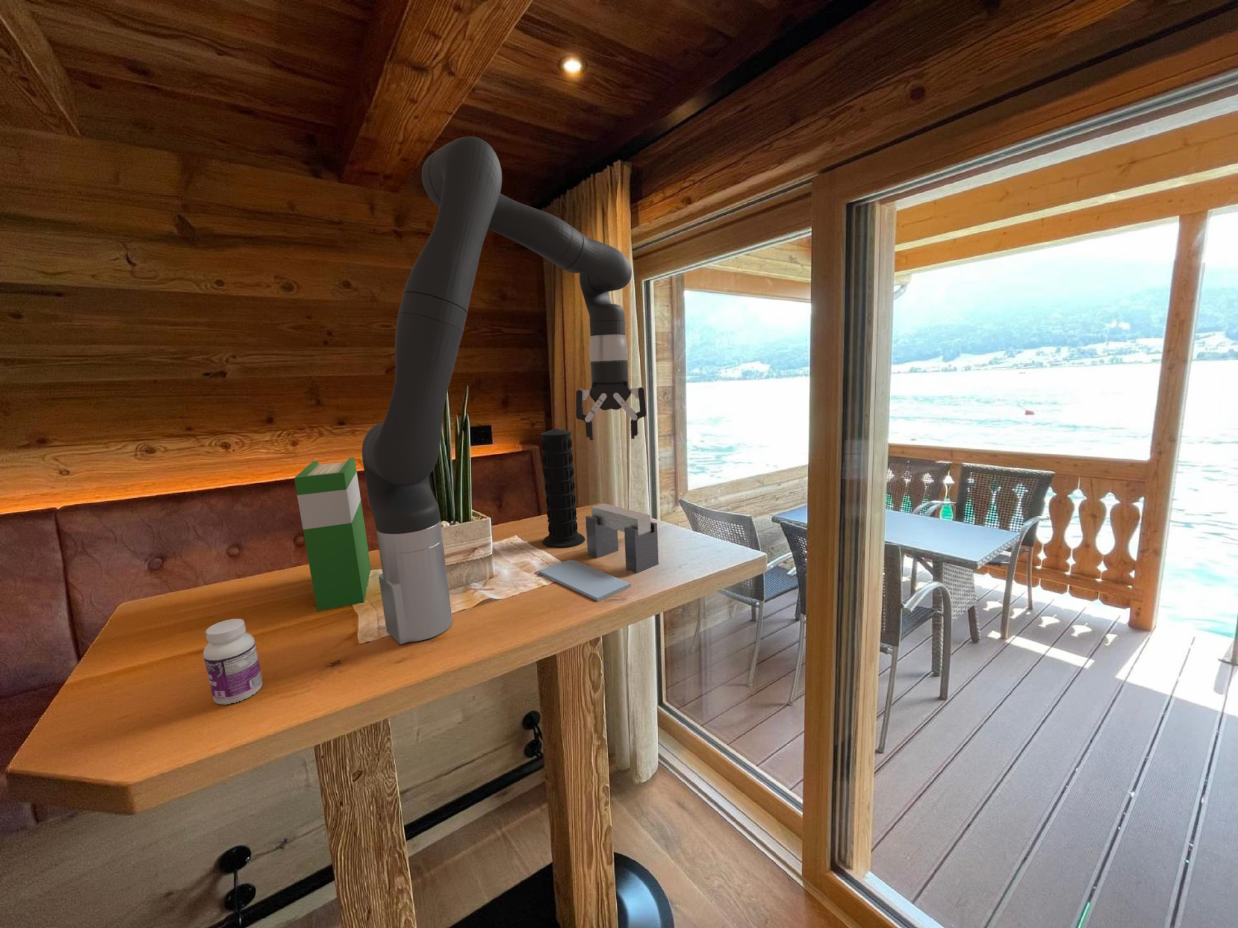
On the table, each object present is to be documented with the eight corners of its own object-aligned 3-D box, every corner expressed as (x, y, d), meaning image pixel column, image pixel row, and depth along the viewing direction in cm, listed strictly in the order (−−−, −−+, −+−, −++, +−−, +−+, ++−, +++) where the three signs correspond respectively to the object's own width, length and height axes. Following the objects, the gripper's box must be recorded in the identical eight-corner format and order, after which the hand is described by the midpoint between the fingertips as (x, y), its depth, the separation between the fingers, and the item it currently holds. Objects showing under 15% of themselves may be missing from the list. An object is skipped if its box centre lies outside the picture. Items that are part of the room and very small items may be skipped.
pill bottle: (206, 697, 67) (191, 629, 65) (252, 676, 71) (239, 612, 69) (223, 711, 64) (208, 640, 62) (270, 688, 68) (257, 621, 66)
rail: (638, 536, 100) (637, 519, 99) (592, 522, 110) (591, 506, 109) (650, 531, 102) (650, 515, 101) (604, 518, 112) (603, 503, 112)
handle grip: (552, 532, 127) (534, 546, 117) (544, 426, 122) (525, 431, 112) (591, 534, 124) (575, 549, 114) (584, 425, 119) (567, 431, 109)
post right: (636, 573, 100) (634, 530, 98) (626, 569, 102) (624, 527, 100) (658, 563, 104) (657, 523, 102) (647, 560, 106) (646, 520, 104)
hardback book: (331, 575, 106) (312, 461, 102) (371, 568, 109) (354, 457, 104) (317, 611, 90) (294, 477, 86) (363, 602, 93) (343, 472, 88)
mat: (597, 601, 89) (597, 597, 89) (538, 573, 102) (538, 570, 102) (630, 586, 94) (630, 583, 94) (571, 561, 107) (570, 559, 107)
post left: (596, 558, 109) (594, 519, 107) (587, 554, 111) (585, 516, 109) (618, 550, 113) (616, 512, 111) (609, 547, 115) (607, 509, 113)
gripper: (571, 360, 100) (576, 443, 103) (644, 357, 99) (647, 440, 102) (575, 360, 107) (580, 437, 110) (644, 357, 107) (646, 435, 110)
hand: (612, 439), depth 106 cm, fingers open, 8 cm apart
